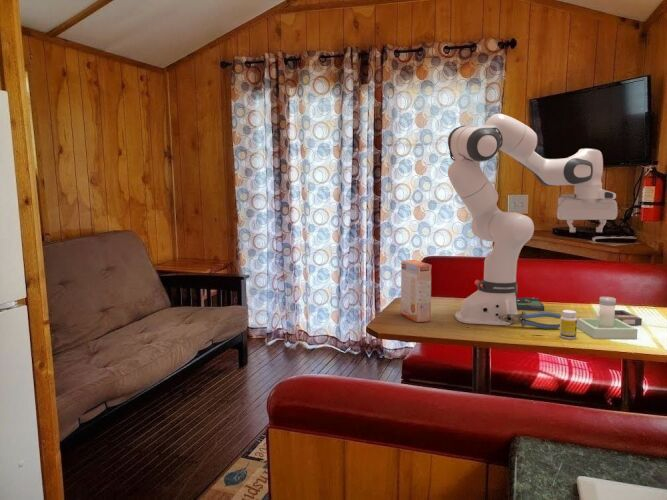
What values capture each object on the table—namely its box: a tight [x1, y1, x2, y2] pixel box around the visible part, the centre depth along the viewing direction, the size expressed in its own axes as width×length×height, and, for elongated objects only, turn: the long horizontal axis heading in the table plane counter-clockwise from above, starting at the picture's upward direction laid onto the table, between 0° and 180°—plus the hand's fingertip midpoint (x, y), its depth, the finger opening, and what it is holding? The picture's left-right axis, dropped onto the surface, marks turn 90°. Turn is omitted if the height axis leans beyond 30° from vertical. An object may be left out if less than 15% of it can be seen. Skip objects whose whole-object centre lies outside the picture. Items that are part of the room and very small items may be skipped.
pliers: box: [498, 310, 562, 330], centre depth 170 cm, size 20×2×6 cm, turn 79°
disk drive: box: [516, 296, 545, 312], centre depth 201 cm, size 10×3×15 cm
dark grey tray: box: [614, 309, 643, 327], centre depth 178 cm, size 8×12×3 cm
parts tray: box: [576, 317, 639, 340], centre depth 163 cm, size 13×13×3 cm
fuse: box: [598, 296, 617, 328], centre depth 163 cm, size 5×5×11 cm
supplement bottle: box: [559, 309, 578, 340], centre depth 159 cm, size 5×5×8 cm
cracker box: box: [400, 259, 432, 323], centre depth 184 cm, size 14×6×21 cm, turn 16°
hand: (585, 232), depth 182 cm, fingers open, 8 cm apart
